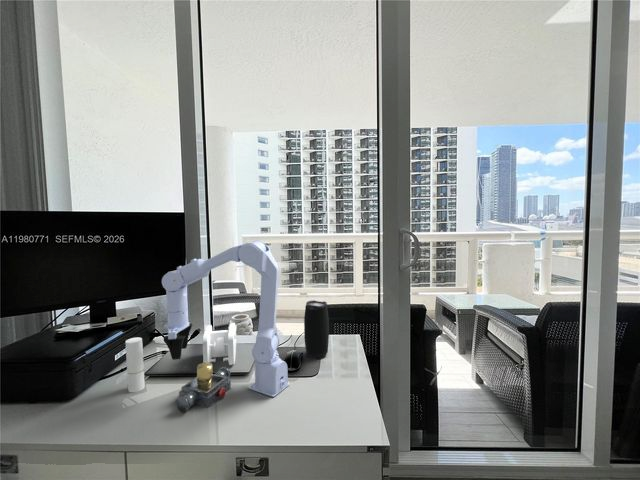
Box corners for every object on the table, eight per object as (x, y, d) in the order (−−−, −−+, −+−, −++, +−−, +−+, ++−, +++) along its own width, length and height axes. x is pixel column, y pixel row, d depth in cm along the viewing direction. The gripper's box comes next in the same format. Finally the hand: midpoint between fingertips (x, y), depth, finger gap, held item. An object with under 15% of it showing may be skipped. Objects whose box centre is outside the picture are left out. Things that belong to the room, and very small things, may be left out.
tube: (137, 393, 94) (134, 343, 93) (124, 391, 95) (121, 342, 93) (148, 385, 98) (145, 337, 97) (135, 384, 99) (133, 337, 98)
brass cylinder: (215, 384, 93) (215, 364, 93) (203, 391, 89) (203, 370, 89) (206, 380, 95) (206, 361, 95) (194, 386, 92) (193, 366, 91)
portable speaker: (332, 351, 120) (332, 300, 119) (321, 362, 112) (321, 307, 110) (312, 347, 124) (311, 298, 122) (300, 357, 115) (299, 304, 114)
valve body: (212, 376, 103) (211, 364, 103) (241, 382, 99) (241, 369, 99) (167, 408, 86) (167, 394, 85) (201, 417, 82) (200, 402, 82)
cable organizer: (208, 353, 121) (207, 323, 120) (237, 350, 123) (236, 320, 122) (203, 371, 106) (201, 337, 105) (236, 368, 108) (234, 334, 108)
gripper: (170, 304, 103) (172, 345, 104) (155, 318, 88) (158, 365, 90) (193, 302, 104) (195, 343, 105) (182, 316, 90) (184, 363, 91)
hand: (179, 353), depth 97 cm, fingers open, 7 cm apart
